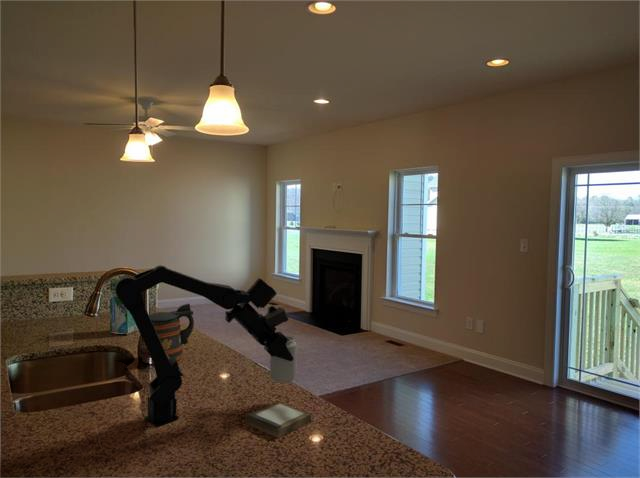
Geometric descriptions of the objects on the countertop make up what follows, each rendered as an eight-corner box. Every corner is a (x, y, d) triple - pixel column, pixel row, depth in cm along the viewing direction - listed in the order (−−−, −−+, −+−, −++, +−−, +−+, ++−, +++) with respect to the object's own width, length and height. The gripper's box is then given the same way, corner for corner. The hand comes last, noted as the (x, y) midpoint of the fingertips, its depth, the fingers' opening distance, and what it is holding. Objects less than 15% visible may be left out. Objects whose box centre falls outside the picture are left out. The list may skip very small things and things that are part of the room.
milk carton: (110, 333, 206) (109, 278, 205) (124, 329, 215) (123, 275, 214) (127, 335, 204) (126, 279, 202) (140, 331, 212) (140, 276, 211)
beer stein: (185, 349, 185) (185, 299, 184) (199, 358, 173) (199, 305, 172) (136, 357, 173) (135, 304, 172) (147, 368, 162) (147, 311, 161)
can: (291, 385, 129) (292, 342, 129) (266, 382, 131) (267, 340, 130) (298, 376, 137) (299, 335, 136) (274, 373, 138) (275, 333, 138)
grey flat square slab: (278, 438, 112) (278, 427, 112) (245, 423, 120) (245, 413, 120) (310, 421, 121) (311, 412, 121) (278, 409, 129) (278, 399, 129)
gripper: (281, 305, 123) (319, 343, 127) (262, 294, 140) (296, 327, 145) (251, 337, 120) (291, 374, 125) (236, 321, 137) (271, 355, 142)
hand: (288, 356), depth 134 cm, fingers closed on can, 7 cm apart
